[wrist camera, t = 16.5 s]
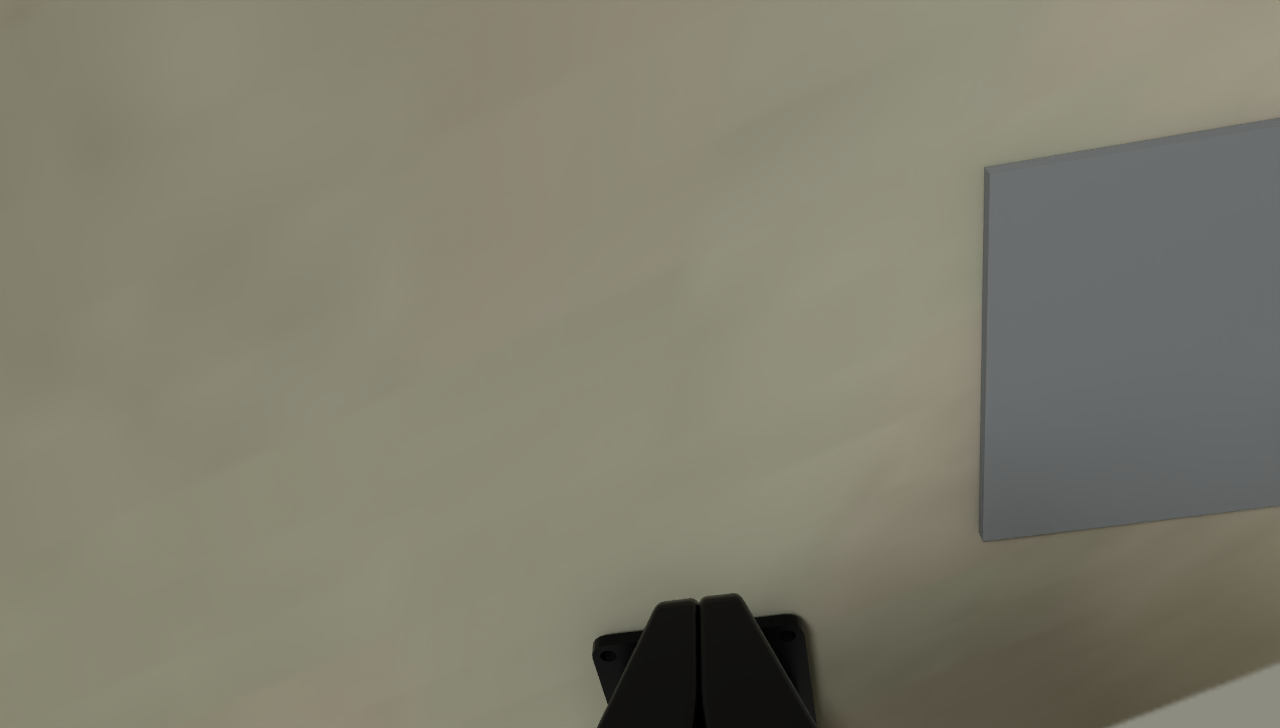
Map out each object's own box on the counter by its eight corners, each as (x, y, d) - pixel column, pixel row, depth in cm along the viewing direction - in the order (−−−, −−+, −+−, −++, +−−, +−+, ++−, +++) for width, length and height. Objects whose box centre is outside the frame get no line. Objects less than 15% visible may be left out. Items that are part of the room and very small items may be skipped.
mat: (1478, 470, 25) (1490, 479, 24) (978, 531, 26) (983, 541, 26) (1644, 56, 19) (1661, 62, 18) (984, 167, 20) (990, 174, 20)
